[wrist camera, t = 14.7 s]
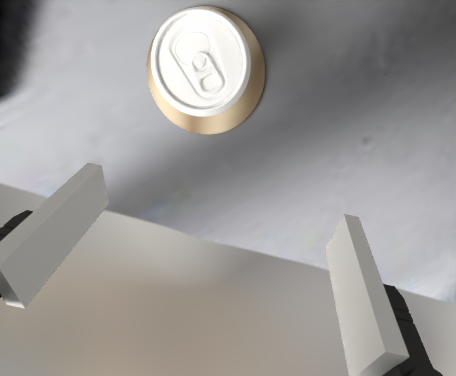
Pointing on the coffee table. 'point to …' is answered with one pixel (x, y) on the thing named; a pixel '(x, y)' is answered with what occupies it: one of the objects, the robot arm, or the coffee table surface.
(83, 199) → the robot arm
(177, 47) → the beverage can
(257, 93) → the cork coaster
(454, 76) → the coffee table surface
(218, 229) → the coffee table surface
